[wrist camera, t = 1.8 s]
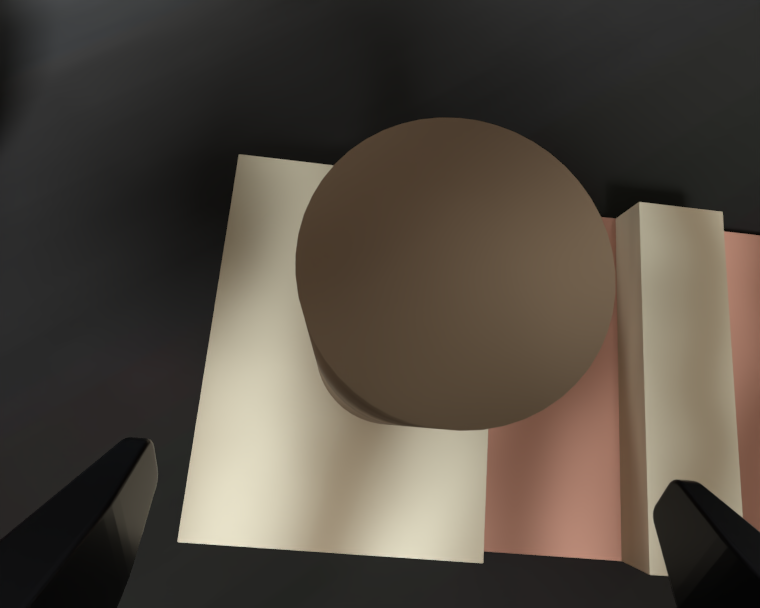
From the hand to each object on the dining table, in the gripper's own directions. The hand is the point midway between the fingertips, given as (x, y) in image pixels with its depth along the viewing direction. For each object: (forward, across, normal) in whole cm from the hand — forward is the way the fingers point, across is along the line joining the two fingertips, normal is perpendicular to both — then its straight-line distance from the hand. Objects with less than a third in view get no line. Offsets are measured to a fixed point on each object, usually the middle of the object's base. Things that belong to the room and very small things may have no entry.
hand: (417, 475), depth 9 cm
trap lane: (+9, -11, +5) cm, 15 cm away
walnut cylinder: (+8, 0, +4) cm, 9 cm away
